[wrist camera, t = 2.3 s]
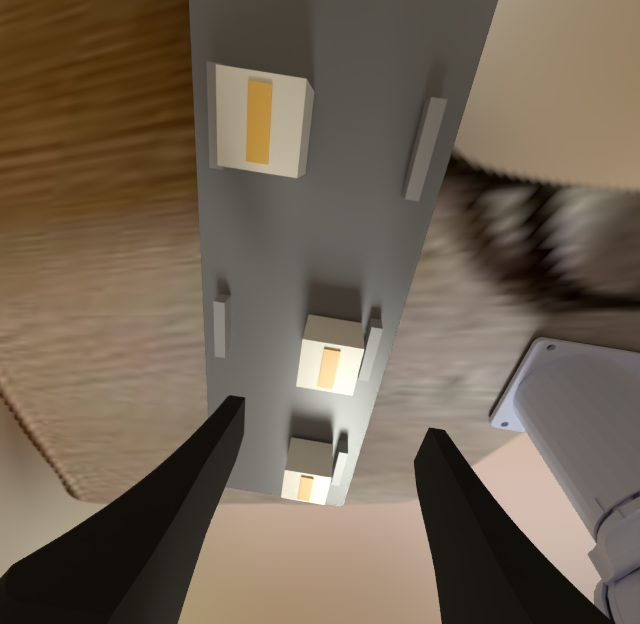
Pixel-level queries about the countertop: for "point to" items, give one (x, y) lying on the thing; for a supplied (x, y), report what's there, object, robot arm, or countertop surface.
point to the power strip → (323, 204)
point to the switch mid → (330, 355)
